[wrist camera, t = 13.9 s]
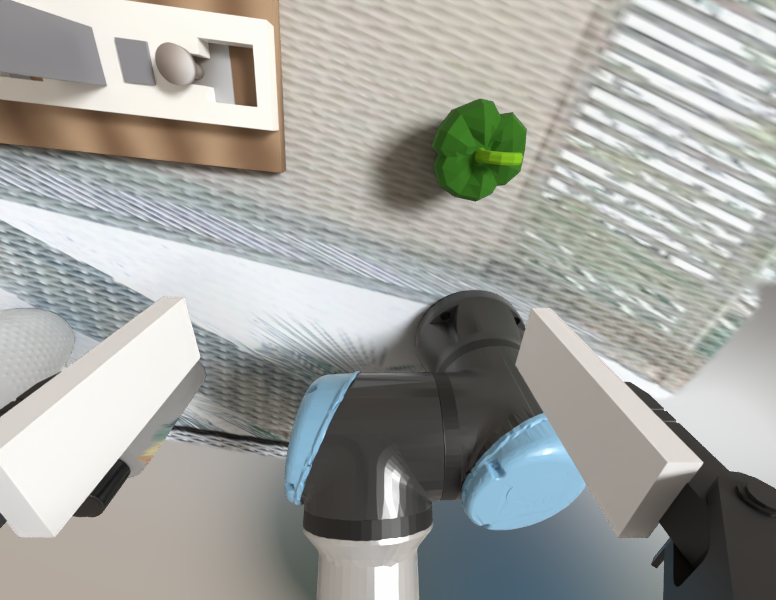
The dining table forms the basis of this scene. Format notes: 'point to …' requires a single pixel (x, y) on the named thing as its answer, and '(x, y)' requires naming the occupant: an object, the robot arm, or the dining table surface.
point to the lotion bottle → (143, 444)
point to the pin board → (161, 135)
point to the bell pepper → (478, 150)
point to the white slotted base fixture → (128, 59)
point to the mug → (31, 349)
